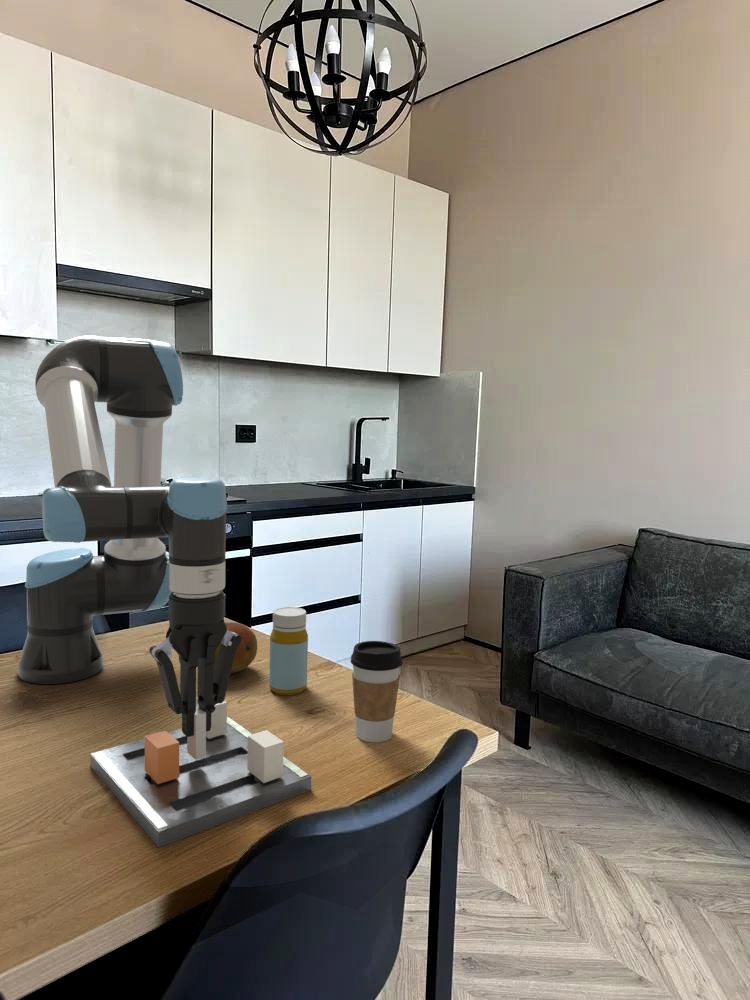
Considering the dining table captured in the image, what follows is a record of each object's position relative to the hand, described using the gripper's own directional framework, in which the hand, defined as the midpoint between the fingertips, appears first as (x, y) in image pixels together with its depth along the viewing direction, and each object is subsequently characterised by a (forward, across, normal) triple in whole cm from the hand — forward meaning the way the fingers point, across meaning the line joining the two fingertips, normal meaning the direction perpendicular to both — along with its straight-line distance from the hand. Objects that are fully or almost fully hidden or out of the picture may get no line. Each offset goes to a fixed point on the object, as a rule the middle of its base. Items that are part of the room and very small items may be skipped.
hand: (196, 754), depth 100 cm
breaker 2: (+2, +6, -8) cm, 10 cm away
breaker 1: (+2, +6, +8) cm, 10 cm away
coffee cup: (+4, +29, -4) cm, 30 cm away
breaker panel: (+4, 0, 0) cm, 4 cm away
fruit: (+4, +23, +35) cm, 42 cm away
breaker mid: (+2, -5, 0) cm, 6 cm away
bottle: (+4, +28, +20) cm, 35 cm away
